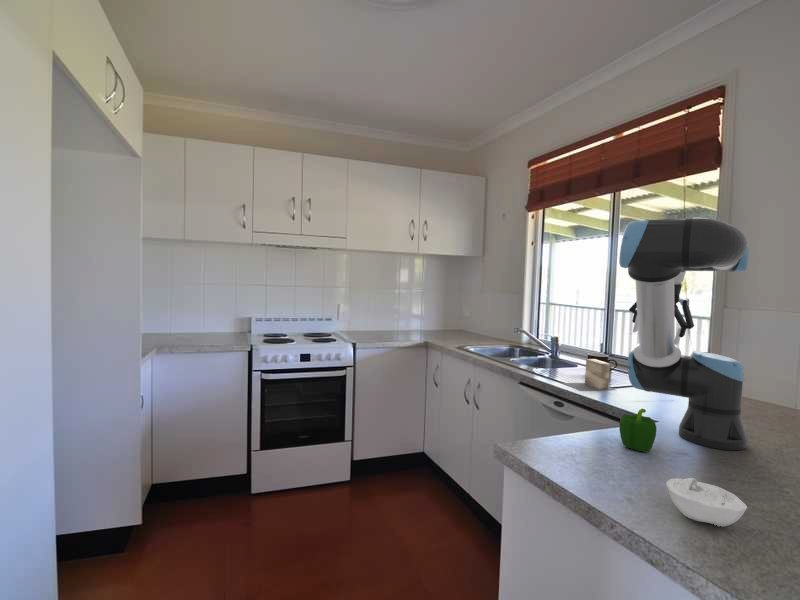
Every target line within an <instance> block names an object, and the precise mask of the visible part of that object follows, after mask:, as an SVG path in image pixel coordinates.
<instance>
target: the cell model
mask: <svg viewBox="0 0 800 600" xmlns="http://www.w3.org/2000/svg"><path fill="white" fill-rule="evenodd" d="M665 485H666V487H667V489H668V493H669V497H670V499H671V501H672V503H673V504H674V506H675V507H676V508H677V509H678V510H679V511H680V513H681V514H682V515H684V517H686V518H687V517H688V519H690V520H693V521H696V522H701V523H707V524H711V525H713V524H714V526H716V525H717V526H716V527H720V526H721V528H722V527H727V526H730V525H732V524H734V523H736V522H738V520H740V519H741V518H742V516H743V515H744V513H745V512H746V511H747V509H748V506H747V504H746V503H744V502H743V501H742V500H741V499H740V498H739V497H738V496H737V495H735V494H734V493H732V492H730V491H728V490H726V489H724V488H722V487H720V486H717V485H714V484H709V483H706V482H701V481H697V479H696V478H693V477H689V478H688V477H687V478H678V477H677V478H670V479H668V480H667V481H666V483H665Z"/></svg>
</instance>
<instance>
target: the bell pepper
mask: <svg viewBox="0 0 800 600" xmlns="http://www.w3.org/2000/svg"><path fill="white" fill-rule="evenodd" d="M646 412H647V410H646V409H645V408H640V409H639V410H638V412H637V414H631V415H629V414H622V415H621V416H620V420H619V435H620V439H621V443H622V445H623V446H624V445H625V446H626V447H628V448H627V449H629V448H631V450H635V451H637V450H638V452H640V451H646V452H645V453H647V451H648V452H650V451H651V450H652V449H653V448H652V447H653V445H654V442H655V439H656V436H657V425H656V422H655V421H654V420H653V419H652V418H651V417H649V416H645V417H642V416H643V413H646ZM625 446H624V447H625ZM626 447H625V448H626Z"/></svg>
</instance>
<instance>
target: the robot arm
mask: <svg viewBox="0 0 800 600" xmlns="http://www.w3.org/2000/svg"><path fill="white" fill-rule="evenodd" d="M624 229H625V230H624V232H623V235H622V238H621V243H620V244H621V245H620V251H619V261H618V263H619V266H620V267H621V268H623V269H627V273H628V276H629V278H631V279H632V280H633V281H635V298H636V301H635V302H634V303H633V304H632V306H630V308H629V309H628V311H629V312H630V313H632V314H633V316H632V323H634V325H633V329H632V333H635V334H636V333H637V332H638V344H637V345H635V347H634V348H633V349H631V351H630V352H629V353H628V356H627V377H628V379H629V382H630V384H631V386H632V387H633V388H634V389H636V390H641V391H645V392H649V393H655V394H657V393H658V394H662V395H663V394H664V395H669V396H675V397H682V398H687V399H688V402H687V409H686V411H685V413H684V414H683V415H684V416H683V417H682V419H681V421H680V424H679V426H678V435H679V436H680V437H681V438H683V439H685V440H686V441H689V442H691V443H694V444H697V445H700V446H704V447H707V448H713V449H717V450H718V449H719V450H725V451H742V450H746V448H747V447H748V436H747V434H746V433H747V432H746V430H745V427H744V423H743V421H742V417H741V416H742V402H743V401H742V400H743V388H744V387H743V385H744V382H745V378H744V377H745V375H744V374H745V373H744V372H745V370H744V369H745V368H744V365H743V364H742V363H741V362H740V361H739V360H737V359H734V358H731V357H728V356H724V355H721V354H717V353H712V352H706V351H699V350H693V351H692V352H691V354H690V355H685V354H682V352H681V351H682V350H681V348H680V347H678V345H679V344H680V340H681V338H683V337H685V336H686V331H687V329H688V330H691V329H693V328H694V327H695V324H694V320H693V317H692V313H691V309H690V299H689V298H686V299H685V298H681V297H680V295H681V291H682V287H683V283H684V280H685V276H686V272H728V273H729V272H730V273H735V272H738V273H741V272H745V271H746V270H747V269H748V262H749V260H748V259H749V247H748V241H747V238H746V236H745V234H744V233H743V231H742V230H741V229H739V228H738V227H736V226H734V225H732V224H730V223H727V222H725V221H722V220H719V219H715V218H714V219H713V218H709V217H708V218H707V217H691V218H688V217H687V218H667V219H666V218H665V219H662V218H661V219H650V218H647V219H645V220H633V221H631V222H629V223H628V224H627V225H626V227H625V228H624ZM678 303H679V304H680V305H681V307H682V312H683V315H684V316H683V315H682V313H681V312H680V310H679V307H678V305H677V304H678ZM675 319H676V321H677V323H678V325H679V327H678V328H677V331H676V332H675V329H676V328H675V324H676V323H675Z"/></svg>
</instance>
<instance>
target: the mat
mask: <svg viewBox="0 0 800 600" xmlns="http://www.w3.org/2000/svg"><path fill="white" fill-rule="evenodd" d="M562 385H565V386H568V387H570V388H572V389H575V390H576V391H579V392H592V391H593V392H595V391H597V392H599V391H616V389H615V388H612V387H610V386H608V389H597V388H595V387H592V386H590V385H588V384H585V382H562Z"/></svg>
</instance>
